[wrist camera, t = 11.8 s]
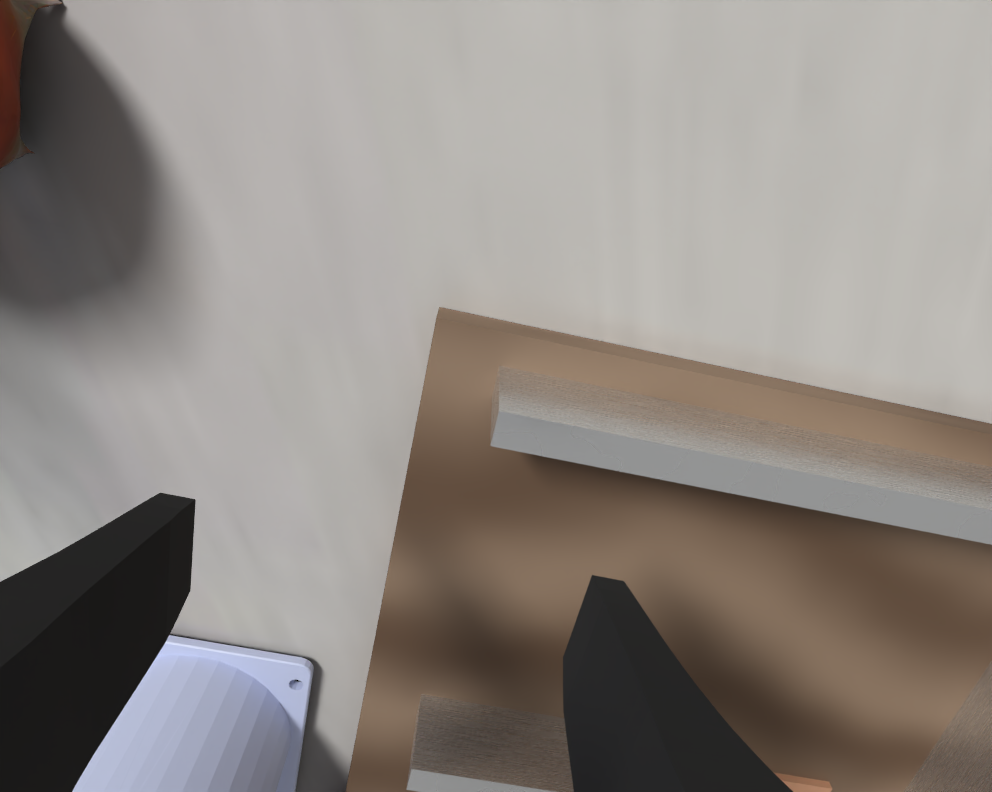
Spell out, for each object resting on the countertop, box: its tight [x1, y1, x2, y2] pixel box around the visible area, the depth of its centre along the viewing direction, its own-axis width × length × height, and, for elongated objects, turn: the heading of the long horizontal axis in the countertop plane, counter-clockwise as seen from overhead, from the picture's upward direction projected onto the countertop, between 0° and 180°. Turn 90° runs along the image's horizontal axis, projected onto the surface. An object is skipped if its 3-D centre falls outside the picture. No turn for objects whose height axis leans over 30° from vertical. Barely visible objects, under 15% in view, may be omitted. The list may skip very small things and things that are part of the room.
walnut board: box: [346, 307, 992, 792], centre depth 26 cm, size 24×24×1 cm
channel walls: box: [406, 365, 992, 792], centre depth 24 cm, size 21×20×3 cm
